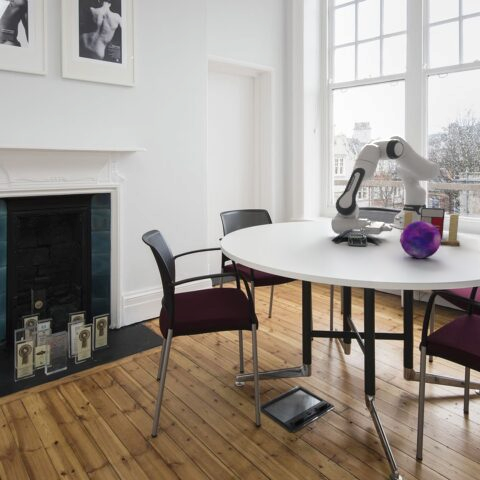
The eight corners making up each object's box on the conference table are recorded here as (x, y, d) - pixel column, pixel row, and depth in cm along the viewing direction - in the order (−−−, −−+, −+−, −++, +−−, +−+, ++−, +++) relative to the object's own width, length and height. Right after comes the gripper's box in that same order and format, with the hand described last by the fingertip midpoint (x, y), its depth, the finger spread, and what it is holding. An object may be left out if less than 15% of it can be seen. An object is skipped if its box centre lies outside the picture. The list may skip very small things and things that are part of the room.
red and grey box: (419, 236, 230) (421, 208, 227) (419, 235, 233) (422, 207, 231) (442, 238, 225) (444, 209, 222) (442, 237, 228) (445, 208, 226)
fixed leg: (446, 241, 206) (448, 214, 204) (446, 240, 210) (448, 213, 208) (458, 242, 204) (460, 215, 202) (458, 241, 208) (460, 214, 206)
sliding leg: (401, 238, 214) (402, 212, 212) (402, 236, 218) (403, 211, 216) (412, 239, 212) (414, 212, 210) (412, 237, 216) (414, 211, 214)
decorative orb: (413, 262, 169) (416, 224, 166) (392, 255, 183) (394, 219, 181) (447, 261, 172) (450, 223, 170) (423, 253, 187) (426, 218, 184)
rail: (399, 242, 214) (399, 238, 213) (401, 240, 220) (401, 236, 220) (459, 246, 203) (459, 243, 203) (458, 243, 209) (459, 240, 209)
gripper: (360, 223, 214) (389, 225, 208) (367, 218, 232) (394, 220, 226) (359, 236, 215) (389, 238, 209) (366, 230, 233) (393, 232, 227)
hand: (392, 229), depth 218 cm, fingers closed
